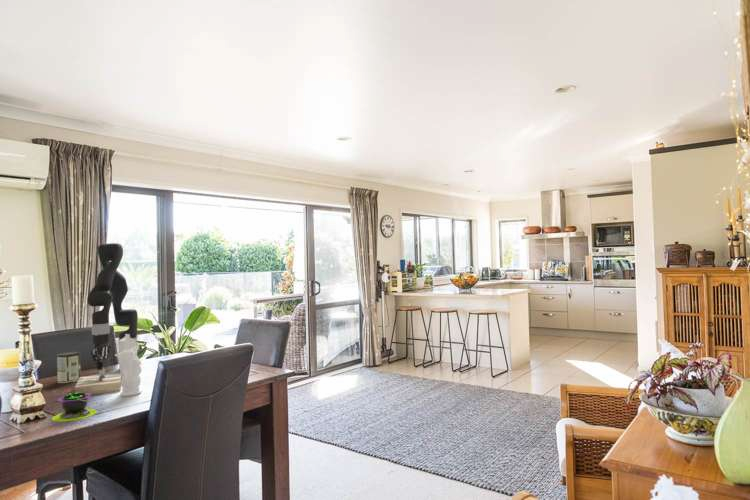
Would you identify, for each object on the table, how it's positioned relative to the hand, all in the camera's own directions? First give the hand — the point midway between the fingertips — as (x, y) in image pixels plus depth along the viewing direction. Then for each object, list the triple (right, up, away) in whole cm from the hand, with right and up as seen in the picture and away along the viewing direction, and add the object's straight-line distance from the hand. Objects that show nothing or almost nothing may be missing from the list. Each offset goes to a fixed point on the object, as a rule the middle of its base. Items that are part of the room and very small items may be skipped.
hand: (101, 368), depth 233 cm
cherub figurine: (+21, -8, -16) cm, 27 cm away
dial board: (+1, -8, -3) cm, 9 cm away
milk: (+3, -9, +20) cm, 22 cm away
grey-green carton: (-25, -10, +14) cm, 30 cm away
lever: (+2, -4, -3) cm, 5 cm away
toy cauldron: (+16, -7, -46) cm, 49 cm away
